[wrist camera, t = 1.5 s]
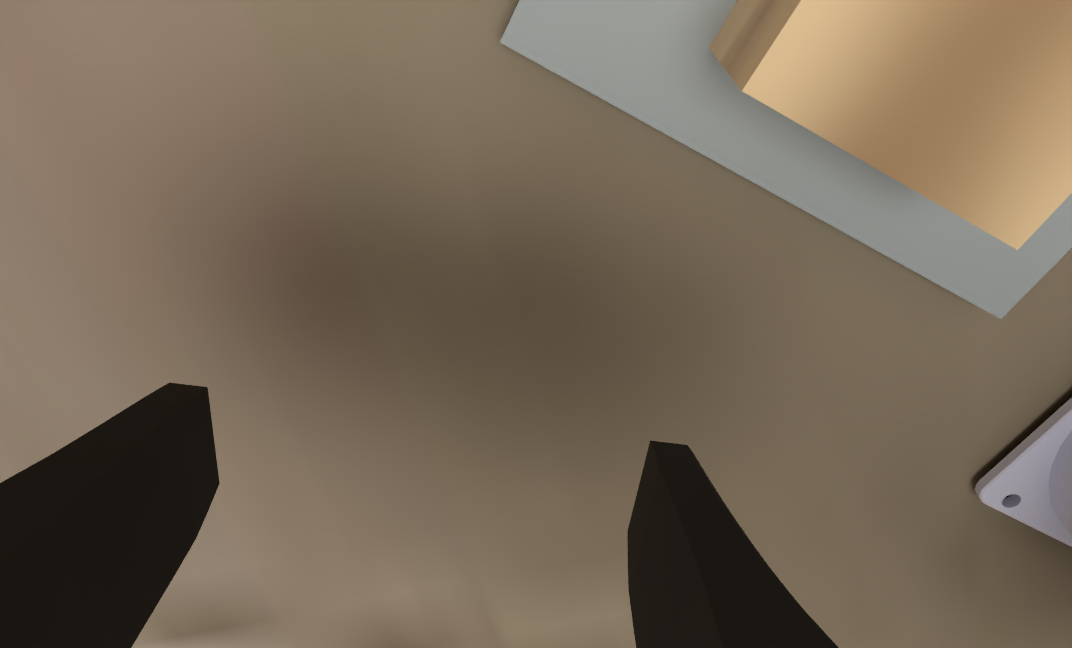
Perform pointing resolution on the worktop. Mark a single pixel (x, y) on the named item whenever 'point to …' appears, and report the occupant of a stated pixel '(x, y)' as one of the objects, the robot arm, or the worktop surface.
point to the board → (771, 139)
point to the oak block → (924, 94)
